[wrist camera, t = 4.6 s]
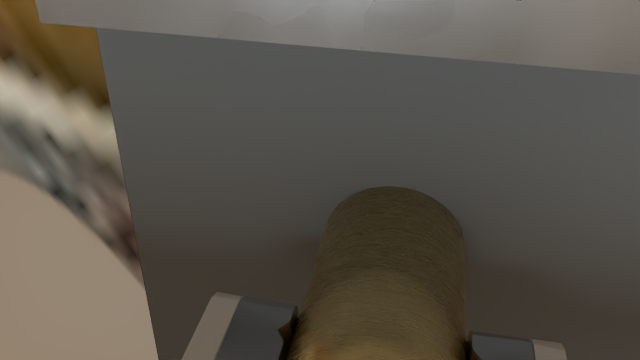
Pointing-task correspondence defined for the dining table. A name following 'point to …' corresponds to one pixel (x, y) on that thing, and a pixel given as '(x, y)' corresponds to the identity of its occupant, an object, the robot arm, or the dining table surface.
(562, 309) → the mat
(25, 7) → the dining table surface
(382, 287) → the brass pin
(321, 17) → the frame
